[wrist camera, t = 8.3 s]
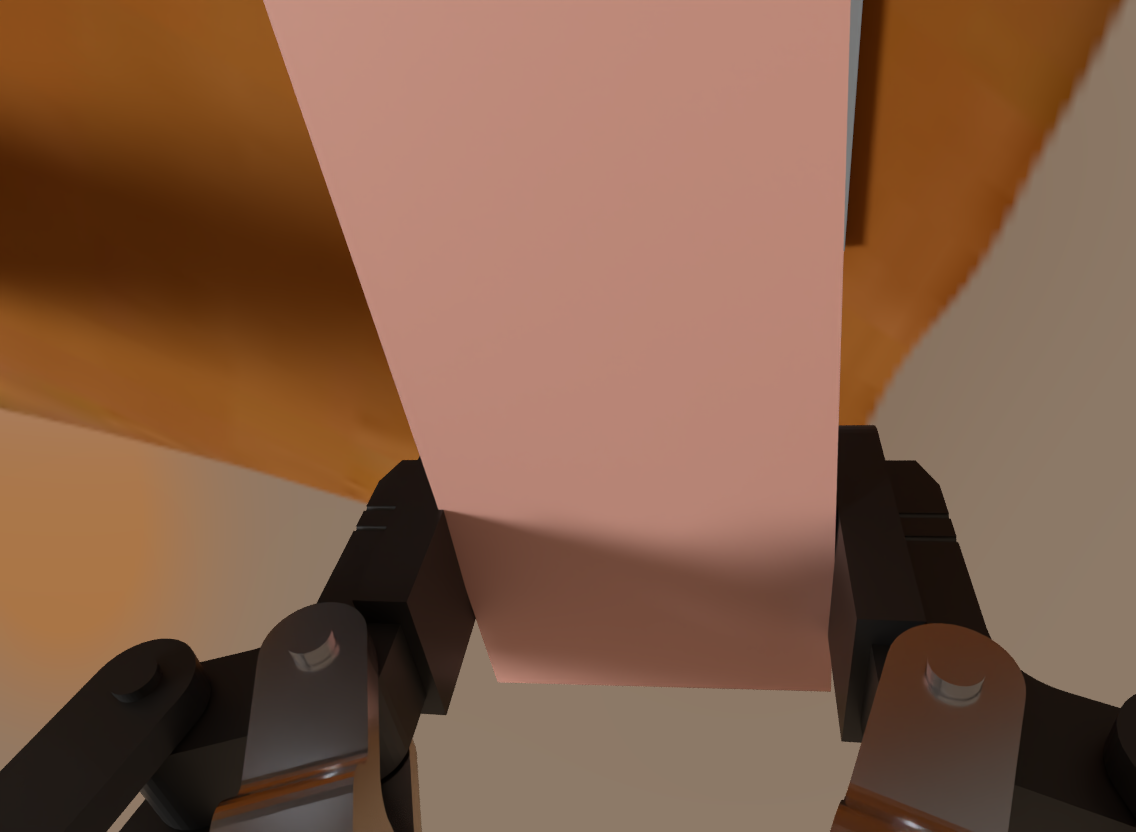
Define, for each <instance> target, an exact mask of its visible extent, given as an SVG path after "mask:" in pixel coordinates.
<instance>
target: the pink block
mask: <svg viewBox="0 0 1136 832" xmlns="http://www.w3.org/2000/svg"><path fill="white" fill-rule="evenodd" d="M263 1H264V4H265V7H266V10H267V13H268V16H269V19H270V21H271V24H272V27H273V30H274V33H275V36H276V39H277V42H278V45H279V48H280V51H281V53H282V56H283V59H284V62H285V65H286V68H287V71H288V74H289V77H290V80H291V83H292V85H293V88H294V91H295V94H296V97H297V100H298V103H299V106H300V109H301V112H302V114H303V117H304V120H305V123H306V126H307V129H308V132H309V135H310V138H311V141H312V144H313V146H314V149H315V152H316V155H317V158H318V161H319V164H320V167H321V170H322V173H323V175H324V178H325V181H326V184H327V187H328V190H329V193H330V196H331V199H332V202H333V205H334V207H335V210H336V213H337V216H338V219H339V222H340V225H341V228H342V231H343V234H344V237H345V239H346V242H347V245H348V248H349V251H350V254H351V257H352V260H353V263H354V266H355V268H356V271H357V274H358V277H359V280H360V283H361V286H362V289H363V292H364V295H365V298H366V300H367V303H368V306H369V309H370V312H371V315H372V318H373V321H374V324H375V327H376V330H377V332H378V335H379V338H380V341H381V344H382V347H383V350H384V353H385V356H386V359H387V361H388V364H389V367H390V370H391V373H392V376H393V379H394V382H395V385H396V388H397V391H398V393H399V396H400V399H401V402H402V405H403V408H404V411H405V414H406V417H407V420H408V422H409V425H410V428H411V431H412V434H413V437H414V440H415V443H416V446H417V449H418V452H419V454H420V457H421V460H422V463H423V466H424V469H425V472H426V475H427V478H428V481H429V484H430V486H431V489H432V492H433V495H434V498H435V501H436V504H437V507H438V510H444V513H445V517H446V520H447V524H448V528H449V531H450V535H451V538H452V542H453V545H454V549H455V552H456V556H457V559H458V563H459V566H460V570H461V573H462V577H463V581H464V584H465V588H466V591H467V594H468V597H469V600H470V603H471V606H472V608H473V611H474V614H475V617H476V620H477V623H478V626H479V629H480V632H481V635H482V638H483V640H484V643H485V646H486V649H487V652H488V655H489V658H490V661H491V664H492V667H493V669H494V672H495V675H496V678H497V681H498V682H507V683H509V682H510V683H543V684H578V685H613V686H614V685H615V686H650V687H687V688H720V689H721V688H722V689H756V690H792V691H793V690H794V691H827V692H830V691H831V668H832V665H831V657H830V650H829V642H828V626H829V616H830V605H831V595H832V584H833V574H834V563H835V528H836V494H837V459H838V424H839V389H840V354H841V320H842V285H843V250H844V215H845V180H846V146H847V111H848V76H849V41H850V6H851V0H263Z"/></svg>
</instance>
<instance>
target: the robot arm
mask: <svg viewBox="0 0 1136 832" xmlns="http://www.w3.org/2000/svg"><path fill="white" fill-rule="evenodd" d="M475 619H476V617H475V614H474V611H473V608H472V606H471V603H470V600H469V597H468V594H467V591H466V588H465V584H464V581H463V577H462V573H461V570H460V566H459V563H458V559H457V556H456V552H455V549H454V545H453V542H452V538H451V535H450V531H449V528H448V524H447V520H446V517H445V513H444V510H438V507H437V504H436V501H435V498H434V495H433V492H432V489H431V486H430V484H429V481H428V478H427V475H426V472H425V469H424V466H423V463H422V460H421V457H420V456H419V459H418V460H402V461H401V462H400V463H399V464H398V465H397V466H395V467H394V468H393V469H392V470H391V471H390V472H389V473H388V474H387V475H386V476H385V477H384V478H382V479H381V480H380V481H379V483H378V485H377V487H376V488H375V490H374V492H373V494H372V496H371V498H370V500H369V502H368V504H367V510H366V511H364V512H363V514H362V516H361V518H360V520H359V522H358V524H357V530H356V531H353V533H352V535H351V537H350V539H349V541H348V543H347V545H346V547H345V549H344V551H343V553H342V555H341V557H340V559H339V561H338V563H337V565H336V567H335V569H334V570H333V572H332V574H331V576H330V578H329V580H328V582H327V584H326V586H325V588H324V590H323V592H322V594H321V596H320V598H319V600H318V602H317V604H313V605H310V606H307V607H304V608H302V609H300V610H297V611H296V612H294V613H292V614H291V615H289V616H288V617H286V618H285V619H283V620H282V621H281V622H280V623H278V624H277V625H276V626H275V627H274V628H273V629H272V631H271V632H270V633H269V634H268V635H267V637H266V638H265V640H264V642H263V644H262V646H261V648H257V649H254V650H250V651H246V652H242V653H238V654H233V655H229V656H225V657H221V658H217V659H212V660H208V661H204V662H199V660H198V659H197V657H196V655H195V654H194V652H193V651H192V649H191V648H190V647H189V646H188V645H187V644H186V643H184V642H181V641H179V640H175V639H157V640H152V641H147V642H144V643H141V644H139V645H136V646H134V647H132V648H130V649H128V650H126V651H124V652H122V653H121V654H119V655H117V656H116V657H115V658H113V659H112V660H111V661H109V662H108V663H107V664H106V665H105V666H104V667H102V668H101V669H100V670H99V671H98V672H97V673H96V674H95V675H94V676H93V677H92V678H91V679H90V680H89V681H88V682H87V683H86V685H84V686H83V688H81V690H80V691H79V692H78V693H77V694H76V695H75V696H74V697H73V698H72V699H71V700H70V701H69V702H68V703H67V704H66V705H65V706H64V707H63V708H62V709H61V710H60V711H59V712H58V713H57V714H56V715H55V716H54V717H53V718H52V719H51V720H50V721H49V722H48V723H47V724H46V725H45V726H44V727H43V728H42V729H41V730H40V731H39V732H38V733H37V735H35V737H33V739H31V740H30V742H29V743H28V744H27V745H26V746H25V747H24V748H23V749H22V750H21V751H20V752H19V753H18V754H17V755H16V756H15V757H14V758H13V759H12V760H11V761H10V762H9V763H8V764H7V765H6V766H5V767H4V768H3V769H2V770H1V771H0V832H107V830H108V829H109V828H110V827H111V826H112V824H113V823H114V822H115V821H116V819H117V818H118V817H119V816H120V815H121V813H122V812H123V811H124V810H125V809H126V807H127V806H128V805H129V803H130V802H131V801H132V800H133V799H134V798H135V796H136V795H137V794H138V793H139V792H141V794H142V795H143V796H144V797H145V800H144V802H143V803H142V804H141V805H140V807H139V808H138V809H137V810H136V811H135V813H134V814H133V815H132V816H131V818H130V819H129V820H128V821H127V823H126V824H125V825H124V826H123V828H122V829H121V830H120V831H119V832H422V828H421V812H420V797H419V780H418V764H417V752H416V746H415V744H414V741H413V739H412V738H413V735H414V732H415V729H416V726H417V723H418V720H419V717H420V714H436V715H446V714H447V711H448V708H449V705H450V701H451V698H452V695H453V691H454V688H455V685H456V681H457V678H458V675H459V672H460V668H461V665H462V662H463V658H464V655H465V652H466V649H467V645H468V642H469V638H470V635H471V632H472V629H473V626H474V622H475ZM828 642H829V650H830V657H831V665H832V672H833V680H834V687H835V695H836V703H837V710H838V718H839V726H840V733H841V741H845V742H860V743H861V746H860V750H859V753H858V757H857V760H856V763H855V767H854V770H853V774H852V777H851V780H850V784H849V787H848V791H847V793H846V796H845V799H844V800H841V802H840V804H839V806H838V809H837V812H836V815H835V818H834V821H833V824H832V827H831V830H830V832H1136V694H1135V695H1133V696H1132V697H1131V698H1129V699H1128V700H1127V701H1126V702H1125V703H1124V705H1123V706H1122V707H1121V708H1118V707H1114V706H1111V705H1108V704H1104V703H1101V702H1098V701H1094V700H1091V699H1088V698H1084V697H1081V696H1078V695H1074V694H1071V693H1068V692H1065V691H1062V690H1059V689H1056V688H1053V687H1051V686H1048V685H1046V684H1044V683H1042V682H1040V681H1038V680H1036V679H1034V678H1033V677H1031V676H1029V675H1027V674H1026V673H1024V672H1023V671H1022V670H1020V668H1019V667H1018V665H1017V664H1016V662H1015V660H1014V659H1013V658H1012V657H1011V656H1010V655H1009V654H1008V653H1007V651H1006V650H1004V649H1003V648H1002V647H1001V646H1000V645H998V644H997V643H996V642H994V641H993V640H992V639H991V637H990V635H989V633H988V630H987V628H986V625H985V622H984V619H983V616H982V613H981V610H980V607H979V604H978V601H977V598H976V595H975V592H974V589H973V586H972V583H971V579H970V576H969V573H968V570H967V567H966V564H965V562H964V558H963V556H962V552H961V549H960V546H959V544H958V542H956V534H955V531H954V528H953V525H952V522H951V519H949V513H948V510H947V507H946V503H945V500H944V497H943V494H942V491H941V488H940V485H939V484H938V483H937V482H936V481H935V480H934V479H933V478H932V477H931V476H930V475H929V474H928V473H927V472H926V471H925V470H924V469H923V468H922V467H921V466H920V465H919V464H918V463H917V462H916V461H885V458H884V455H883V450H882V446H881V443H880V438H879V434H878V431H877V428H876V426H874V425H846V426H838V459H837V494H836V528H835V563H834V574H833V584H832V595H831V605H830V616H829V626H828Z"/></svg>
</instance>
